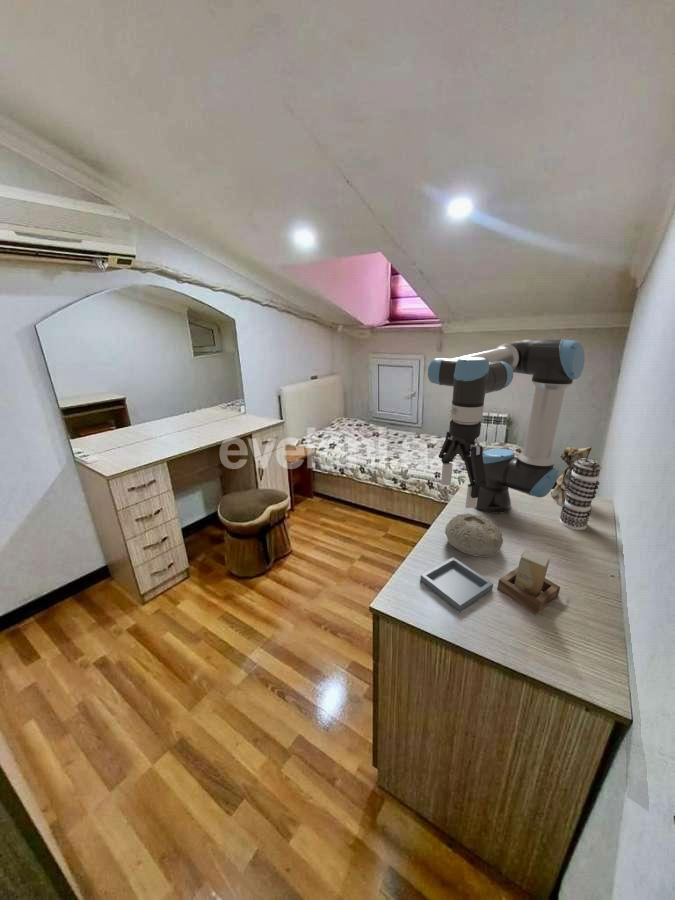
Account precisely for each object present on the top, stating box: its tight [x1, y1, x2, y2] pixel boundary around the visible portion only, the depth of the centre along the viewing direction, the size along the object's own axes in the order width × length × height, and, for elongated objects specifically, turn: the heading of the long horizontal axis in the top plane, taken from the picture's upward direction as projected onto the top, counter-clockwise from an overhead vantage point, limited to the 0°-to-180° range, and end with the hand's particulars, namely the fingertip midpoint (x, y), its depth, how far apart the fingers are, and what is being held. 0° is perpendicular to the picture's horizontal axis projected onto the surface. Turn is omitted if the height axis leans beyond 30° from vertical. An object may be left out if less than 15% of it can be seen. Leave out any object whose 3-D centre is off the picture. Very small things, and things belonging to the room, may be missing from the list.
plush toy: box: [550, 445, 592, 507], centre depth 140 cm, size 14×14×25 cm
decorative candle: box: [559, 457, 603, 531], centre depth 124 cm, size 9×9×25 cm
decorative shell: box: [444, 512, 504, 558], centre depth 115 cm, size 18×18×10 cm
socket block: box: [496, 566, 561, 616], centre depth 96 cm, size 11×11×4 cm
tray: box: [419, 556, 494, 613], centre depth 100 cm, size 14×14×2 cm
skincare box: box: [514, 549, 551, 598], centre depth 95 cm, size 6×4×12 cm
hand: (457, 494), depth 96 cm, fingers open, 13 cm apart
